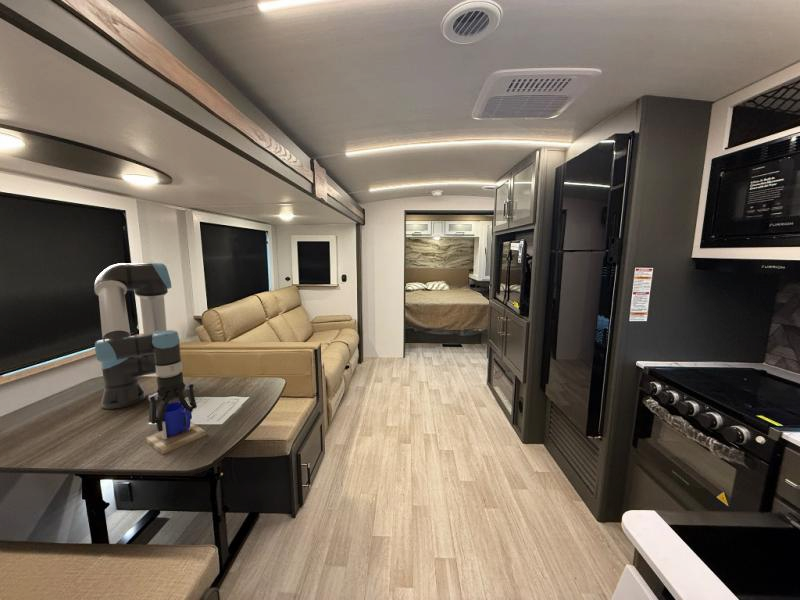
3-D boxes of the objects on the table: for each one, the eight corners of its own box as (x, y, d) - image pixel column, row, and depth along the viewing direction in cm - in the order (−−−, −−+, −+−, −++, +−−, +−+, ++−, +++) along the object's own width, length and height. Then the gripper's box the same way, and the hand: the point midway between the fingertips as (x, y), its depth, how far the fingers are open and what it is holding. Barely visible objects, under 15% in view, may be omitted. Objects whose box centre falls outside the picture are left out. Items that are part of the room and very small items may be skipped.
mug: (181, 441, 110) (178, 415, 109) (154, 436, 113) (151, 411, 111) (200, 428, 118) (198, 404, 116) (175, 424, 121) (172, 400, 119)
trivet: (146, 441, 113) (145, 437, 113) (188, 423, 124) (188, 420, 124) (162, 454, 105) (162, 450, 105) (206, 434, 117) (205, 430, 117)
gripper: (139, 386, 101) (147, 450, 104) (204, 367, 118) (209, 423, 121) (130, 380, 105) (139, 443, 108) (194, 363, 122) (199, 418, 125)
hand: (176, 432), depth 115 cm, fingers closed on mug, 7 cm apart
